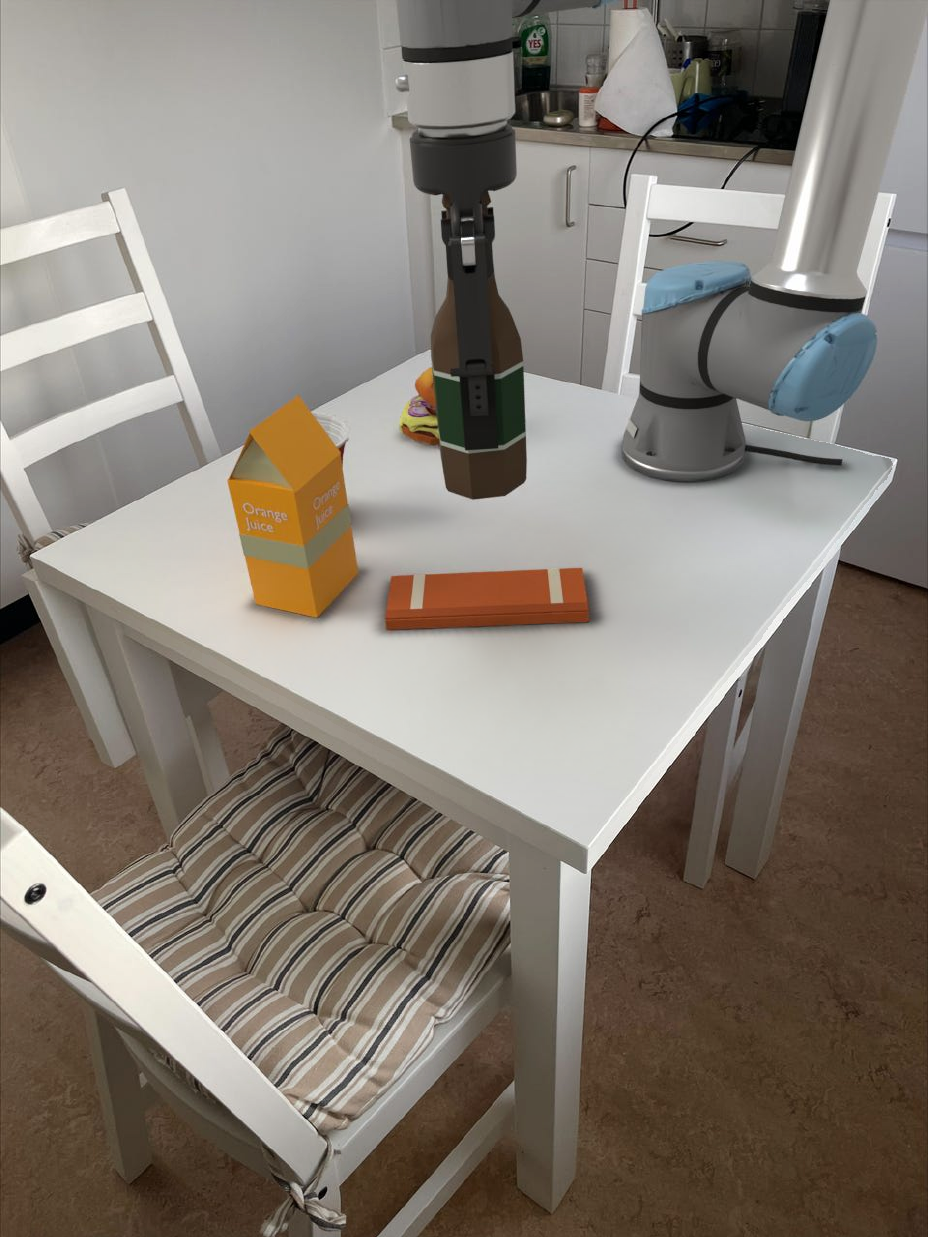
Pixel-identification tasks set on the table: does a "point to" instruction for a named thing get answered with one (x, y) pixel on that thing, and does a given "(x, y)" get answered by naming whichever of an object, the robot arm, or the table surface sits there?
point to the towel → (487, 599)
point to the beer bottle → (508, 463)
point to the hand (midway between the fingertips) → (481, 425)
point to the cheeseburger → (421, 412)
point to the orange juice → (293, 513)
